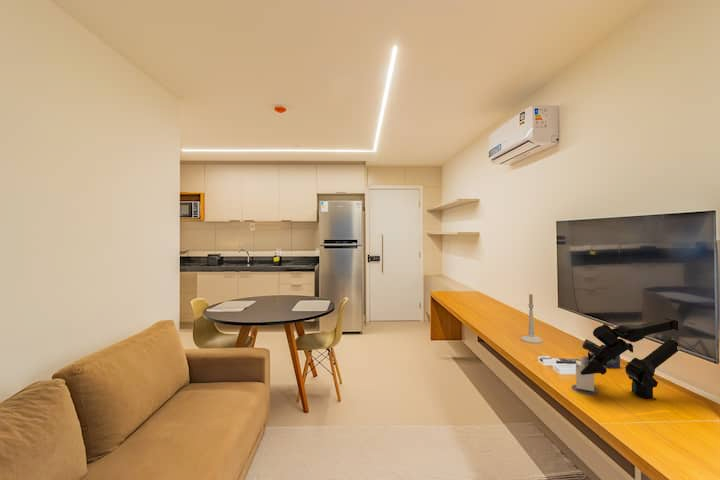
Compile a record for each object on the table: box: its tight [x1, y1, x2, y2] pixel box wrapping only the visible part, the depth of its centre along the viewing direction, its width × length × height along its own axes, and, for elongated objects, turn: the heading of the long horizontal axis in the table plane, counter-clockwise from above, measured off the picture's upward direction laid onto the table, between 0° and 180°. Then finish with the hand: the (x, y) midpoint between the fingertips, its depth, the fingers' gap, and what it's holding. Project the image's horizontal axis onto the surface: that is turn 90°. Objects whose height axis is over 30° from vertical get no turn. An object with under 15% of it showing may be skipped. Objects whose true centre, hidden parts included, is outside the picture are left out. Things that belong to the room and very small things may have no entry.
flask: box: [606, 354, 621, 369], centre depth 175 cm, size 9×3×11 cm, turn 78°
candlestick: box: [520, 294, 544, 345], centre depth 220 cm, size 13×13×30 cm
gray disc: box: [570, 384, 600, 396], centre depth 150 cm, size 10×10×1 cm
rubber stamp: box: [575, 355, 595, 391], centre depth 150 cm, size 6×6×13 cm
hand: (581, 371), depth 150 cm, fingers closed on rubber stamp, 6 cm apart
